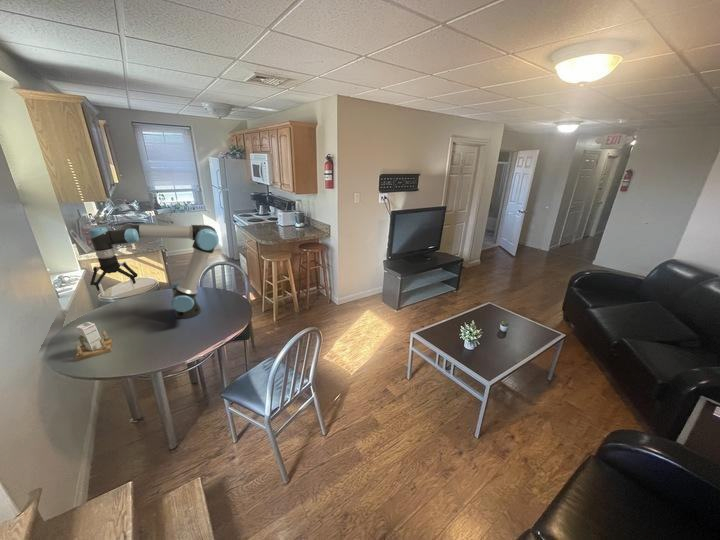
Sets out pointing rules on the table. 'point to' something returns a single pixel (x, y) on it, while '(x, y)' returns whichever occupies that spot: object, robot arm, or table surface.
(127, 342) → the table surface
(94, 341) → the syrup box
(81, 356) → the peg rack
